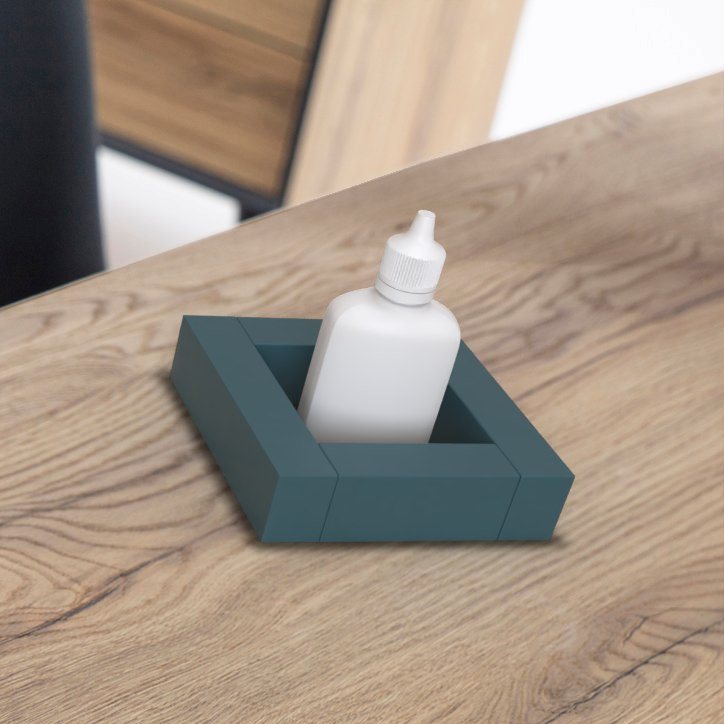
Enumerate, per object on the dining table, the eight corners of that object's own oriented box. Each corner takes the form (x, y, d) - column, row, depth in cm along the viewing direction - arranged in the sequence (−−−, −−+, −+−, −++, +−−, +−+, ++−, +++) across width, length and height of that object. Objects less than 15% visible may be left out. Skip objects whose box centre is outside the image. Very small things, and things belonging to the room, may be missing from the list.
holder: (423, 397, 82) (448, 321, 80) (544, 557, 73) (576, 476, 70) (165, 394, 79) (182, 314, 76) (256, 560, 69) (279, 475, 67)
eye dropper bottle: (307, 429, 78) (378, 175, 71) (424, 474, 76) (509, 219, 69) (271, 469, 75) (342, 207, 67) (393, 516, 73) (479, 254, 66)
